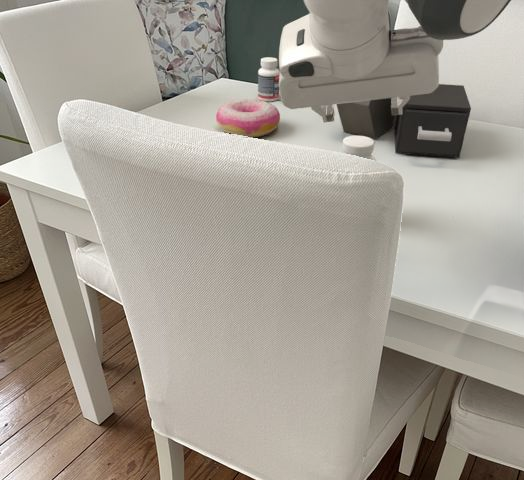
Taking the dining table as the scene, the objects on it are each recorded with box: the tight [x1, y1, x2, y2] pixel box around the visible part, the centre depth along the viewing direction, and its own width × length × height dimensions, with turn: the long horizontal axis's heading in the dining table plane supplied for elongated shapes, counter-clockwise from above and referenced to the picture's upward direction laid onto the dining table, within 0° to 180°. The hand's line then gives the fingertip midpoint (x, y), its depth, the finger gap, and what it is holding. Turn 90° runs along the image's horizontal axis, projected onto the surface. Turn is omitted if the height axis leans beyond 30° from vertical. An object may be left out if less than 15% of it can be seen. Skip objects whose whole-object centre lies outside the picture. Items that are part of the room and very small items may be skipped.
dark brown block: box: [335, 98, 397, 140], centre depth 119 cm, size 17×8×21 cm
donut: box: [215, 98, 281, 138], centre depth 123 cm, size 14×13×5 cm
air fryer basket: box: [399, 108, 467, 155], centre depth 113 cm, size 18×11×8 cm, turn 170°
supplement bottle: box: [341, 135, 378, 162], centre depth 89 cm, size 7×7×13 cm
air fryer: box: [394, 83, 472, 159], centre depth 116 cm, size 15×13×10 cm
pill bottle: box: [257, 56, 280, 102], centre depth 138 cm, size 5×5×9 cm
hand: (362, 114), depth 80 cm, fingers open, 8 cm apart
